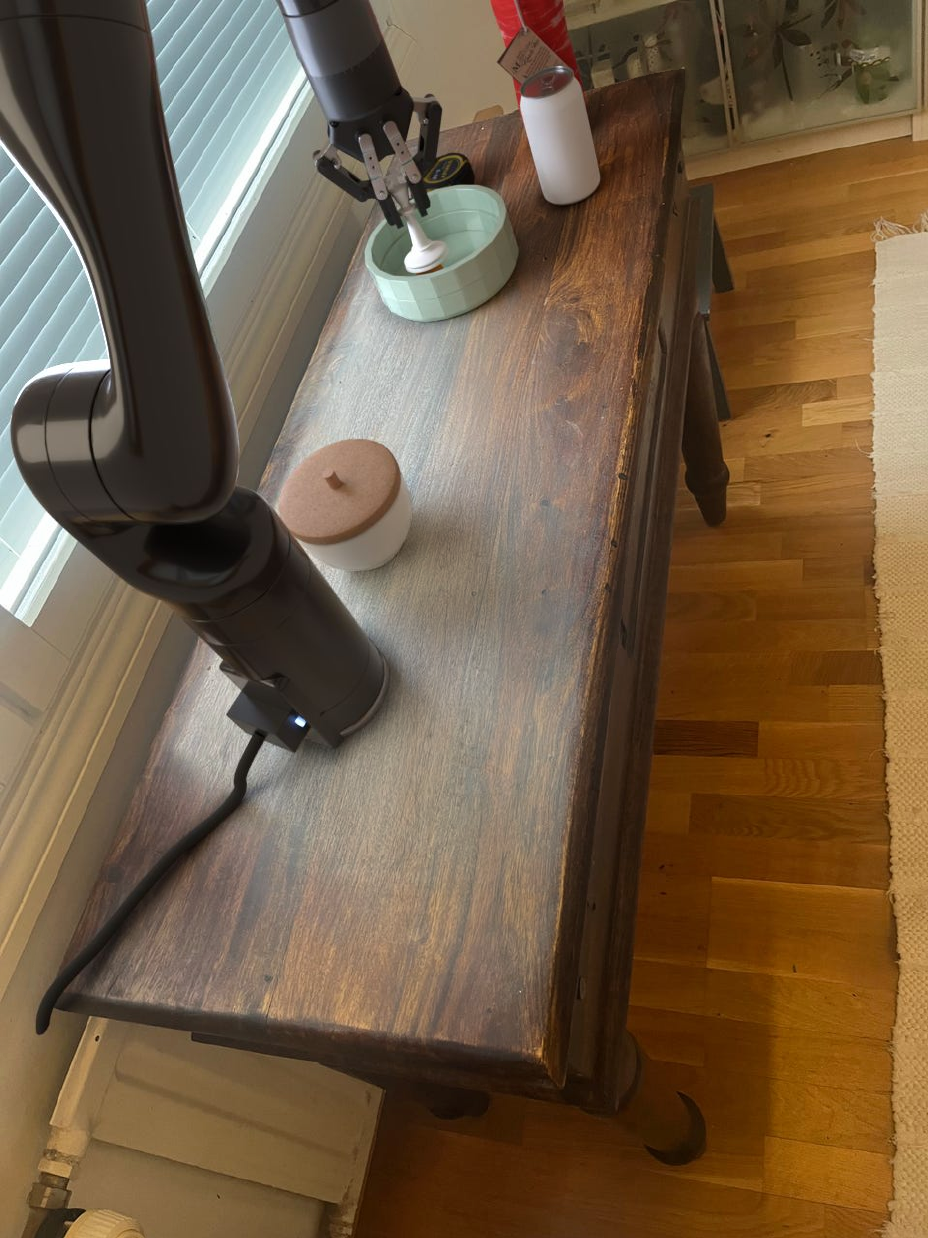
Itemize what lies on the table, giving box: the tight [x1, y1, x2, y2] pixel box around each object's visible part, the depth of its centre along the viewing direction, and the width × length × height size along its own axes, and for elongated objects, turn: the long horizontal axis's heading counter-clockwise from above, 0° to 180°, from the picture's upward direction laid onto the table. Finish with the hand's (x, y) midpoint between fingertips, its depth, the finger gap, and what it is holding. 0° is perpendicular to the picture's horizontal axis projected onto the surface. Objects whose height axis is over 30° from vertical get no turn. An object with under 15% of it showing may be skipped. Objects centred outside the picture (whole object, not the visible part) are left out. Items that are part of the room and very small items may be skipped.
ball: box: [416, 264, 443, 276], centre depth 99 cm, size 3×3×3 cm
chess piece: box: [384, 165, 449, 273], centre depth 95 cm, size 5×5×10 cm
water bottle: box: [489, 0, 588, 129], centre depth 100 cm, size 12×8×25 cm, turn 166°
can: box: [520, 66, 601, 207], centre depth 98 cm, size 6×6×12 cm
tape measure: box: [409, 152, 476, 201], centre depth 109 cm, size 7×7×4 cm
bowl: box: [364, 184, 520, 323], centre depth 99 cm, size 16×16×6 cm
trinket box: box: [278, 438, 413, 572], centre depth 79 cm, size 11×11×9 cm
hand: (411, 217), depth 95 cm, fingers closed on chess piece
